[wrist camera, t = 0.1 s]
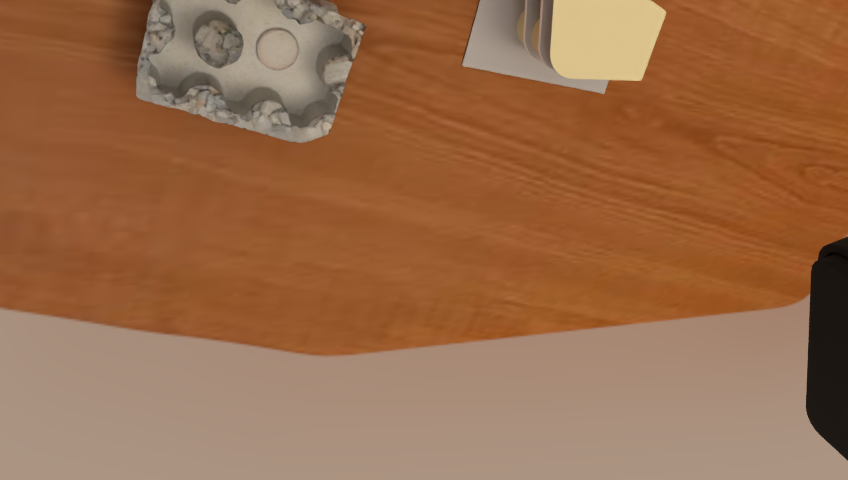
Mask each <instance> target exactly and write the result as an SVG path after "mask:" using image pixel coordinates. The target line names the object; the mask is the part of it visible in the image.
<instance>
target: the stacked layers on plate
mask: <svg viewBox="0 0 848 480" xmlns="http://www.w3.org/2000/svg"><path fill="white" fill-rule="evenodd" d="M665 15H666V11H665V10H664V9H662V8H661V7H659V6H658V5H657V4H655V3H654V2H652V1H651V0H480V3H479V6H478V10H477V13H476V17H475V21H474V24H473V28H472V31H471V35H470V39H469V42H468V46H467V50H466V53H465V57H464V60H463V64H462V66H466V67H471V68H476V69H481V70H486V71H491V72H496V73H501V74H506V75H511V76H517V77H522V78H527V79H532V80H537V81H542V82H547V83H552V84H557V85H562V86H567V87H572V88H577V89H583V90H588V91H593V92H598V93H603V94H604V93H605V90H606V87H607V84H608V82H609V80H633V81H640V80H641V79H642V78H643V75H644V72H645V69H646V67H647V64H648V61H649V59H650V56H651V53H652V50H653V48H654V45H655V42H656V40H657V37H658V34H659V31H660V29H661V26H662V23H663V21H664V18H665Z"/></svg>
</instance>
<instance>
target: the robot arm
mask: <svg viewBox="0 0 848 480" xmlns="http://www.w3.org/2000/svg"><path fill="white" fill-rule="evenodd" d="M806 411H807V415H808V418H809V420H810V422H811V424H812V425H813V427H814V428H815V430H816V431H817V432H818V433H819V434H820V435H821V436H822V437H823V438H824V439H825V440H826V441H827V442H828V443H830V445H832V446H833V447H834V448H835V449H836V450H837V451H838V452H839V453H840V454H841V455H842V456H844V457H845V458H846V459H847V460H848V237H846V238H843V239H841V240H838V241H836V242H833V243H831V244H828V245H826V246H824V247H823V248H822V249H821V251H820V252H819V257H818V261H816V262H815V263H814V264H813V266H812V270H811V292H810V317H809V343H808V369H807V395H806Z"/></svg>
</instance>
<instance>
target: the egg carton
mask: <svg viewBox="0 0 848 480" xmlns="http://www.w3.org/2000/svg"><path fill="white" fill-rule="evenodd" d="M365 28H366V24H362V23H360V22H358V21H356V20H354V19H349V18H346V17H344V16H342V15H339V13H338V9H337V6H336V5H335V4H334V3H332V2H330V1H327V0H311V1H309V0H153V5H152V7H151V9H150V11H149V14H148V19H147V30H146V33H145V36H144V41H143V44H142V49H141V53H140V56H139V60H138V66H137V79H136V96H137V97H138V98H139V99H141V100H145V101H148V102H151V103H155V104H159V105H162V106H166V107H169V108H177V109H181V110H184V111H187V112H189V113H191V114H198V115H201V116H204V117H206V118H208V119H210V120H212V121H215V122H220V123H225V124H230V125H234V126H237V127H240V128H243V129H247V130H252V131H257V132H260V133H263V134H266V135H269V136H272V137H276V138H279V139H283V140H286V141H290V142H297V143H302V142H308V141H311V140H313V139H316V138H319V137H322V136H324V135H327V134H328V133H329V131H330V129H331V126H332V123H333V121H334V118H335V114H336V111H337V108H338V105H339V102H340V99H341V96H342V94H343V91H344V87H345V82H346V79H347V76H348V73H349V71H350V68H351V64H352V62H353V60H354V58H355V56H356V53H357V51H358V47H359V44H360V41H361V38H362V35H363V33H364V30H365Z"/></svg>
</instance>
